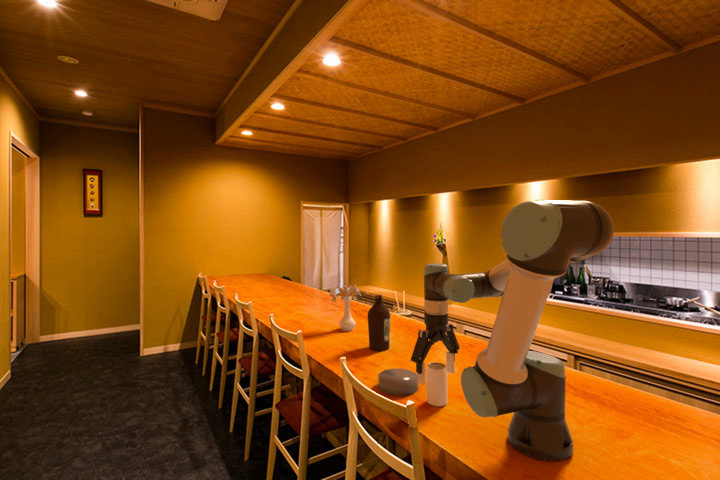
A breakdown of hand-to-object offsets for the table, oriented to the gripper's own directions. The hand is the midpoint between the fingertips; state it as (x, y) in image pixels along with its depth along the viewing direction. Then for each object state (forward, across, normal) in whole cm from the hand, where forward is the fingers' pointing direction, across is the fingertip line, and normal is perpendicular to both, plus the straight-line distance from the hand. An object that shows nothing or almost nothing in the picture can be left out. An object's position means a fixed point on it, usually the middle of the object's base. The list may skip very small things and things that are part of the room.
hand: (436, 377), depth 120 cm
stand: (+8, +2, -16) cm, 18 cm away
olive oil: (+9, -20, -53) cm, 57 cm away
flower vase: (+10, -25, -89) cm, 93 cm away
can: (+8, 0, 0) cm, 8 cm away
